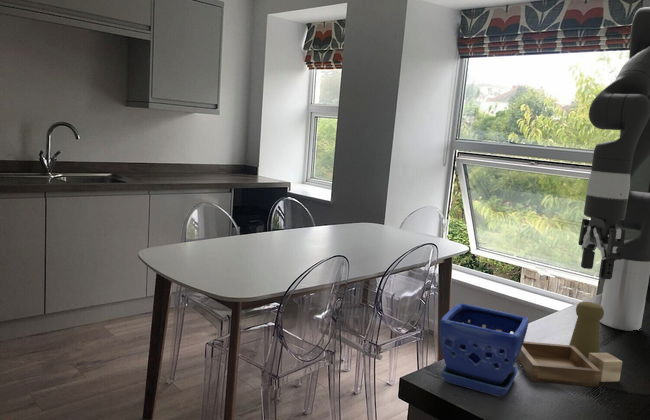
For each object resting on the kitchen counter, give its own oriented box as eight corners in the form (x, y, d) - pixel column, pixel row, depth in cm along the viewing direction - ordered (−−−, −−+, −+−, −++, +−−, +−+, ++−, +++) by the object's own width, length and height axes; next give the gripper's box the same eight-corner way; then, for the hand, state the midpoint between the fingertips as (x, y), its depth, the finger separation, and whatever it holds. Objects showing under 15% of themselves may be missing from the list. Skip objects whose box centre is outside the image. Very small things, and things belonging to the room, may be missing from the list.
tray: (511, 354, 110) (513, 340, 110) (571, 359, 110) (573, 345, 109) (531, 380, 98) (533, 365, 98) (598, 387, 98) (600, 371, 98)
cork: (603, 361, 110) (611, 309, 109) (571, 357, 111) (579, 305, 110) (594, 350, 116) (602, 301, 114) (564, 346, 117) (571, 297, 116)
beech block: (586, 372, 104) (589, 352, 104) (604, 372, 105) (607, 352, 105) (600, 382, 100) (604, 361, 100) (619, 381, 101) (622, 361, 101)
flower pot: (451, 359, 106) (457, 300, 104) (522, 377, 100) (530, 315, 98) (431, 384, 94) (438, 318, 92) (510, 407, 88) (520, 337, 86)
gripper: (645, 200, 102) (631, 284, 104) (609, 192, 116) (598, 266, 118) (604, 197, 102) (592, 280, 104) (573, 189, 116) (563, 263, 118)
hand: (595, 273), depth 111 cm, fingers open, 8 cm apart
